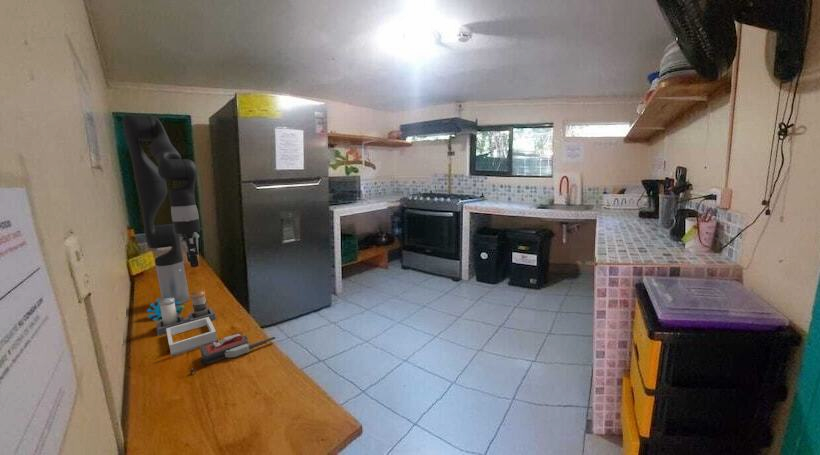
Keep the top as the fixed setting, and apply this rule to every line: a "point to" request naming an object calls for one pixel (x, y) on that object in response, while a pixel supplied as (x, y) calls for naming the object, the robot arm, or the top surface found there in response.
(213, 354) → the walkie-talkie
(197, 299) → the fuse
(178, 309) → the gear
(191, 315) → the fuse block
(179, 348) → the parts tray
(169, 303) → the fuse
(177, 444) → the top surface
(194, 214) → the robot arm
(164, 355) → the top surface
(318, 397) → the top surface
